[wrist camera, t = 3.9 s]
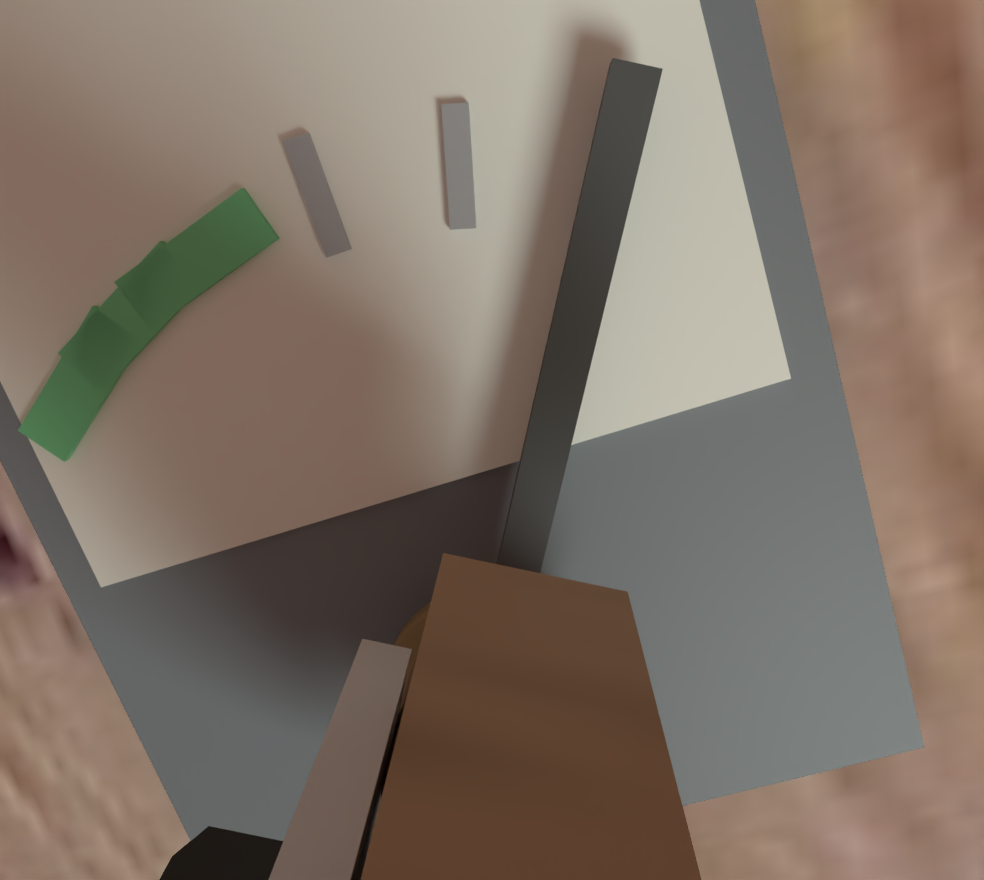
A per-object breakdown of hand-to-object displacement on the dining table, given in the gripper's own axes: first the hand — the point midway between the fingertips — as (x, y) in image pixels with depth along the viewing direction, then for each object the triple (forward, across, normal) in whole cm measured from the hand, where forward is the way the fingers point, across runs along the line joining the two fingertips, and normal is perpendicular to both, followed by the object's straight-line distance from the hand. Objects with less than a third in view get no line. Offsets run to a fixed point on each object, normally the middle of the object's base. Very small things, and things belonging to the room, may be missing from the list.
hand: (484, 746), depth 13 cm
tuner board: (+4, -3, +5) cm, 7 cm away
